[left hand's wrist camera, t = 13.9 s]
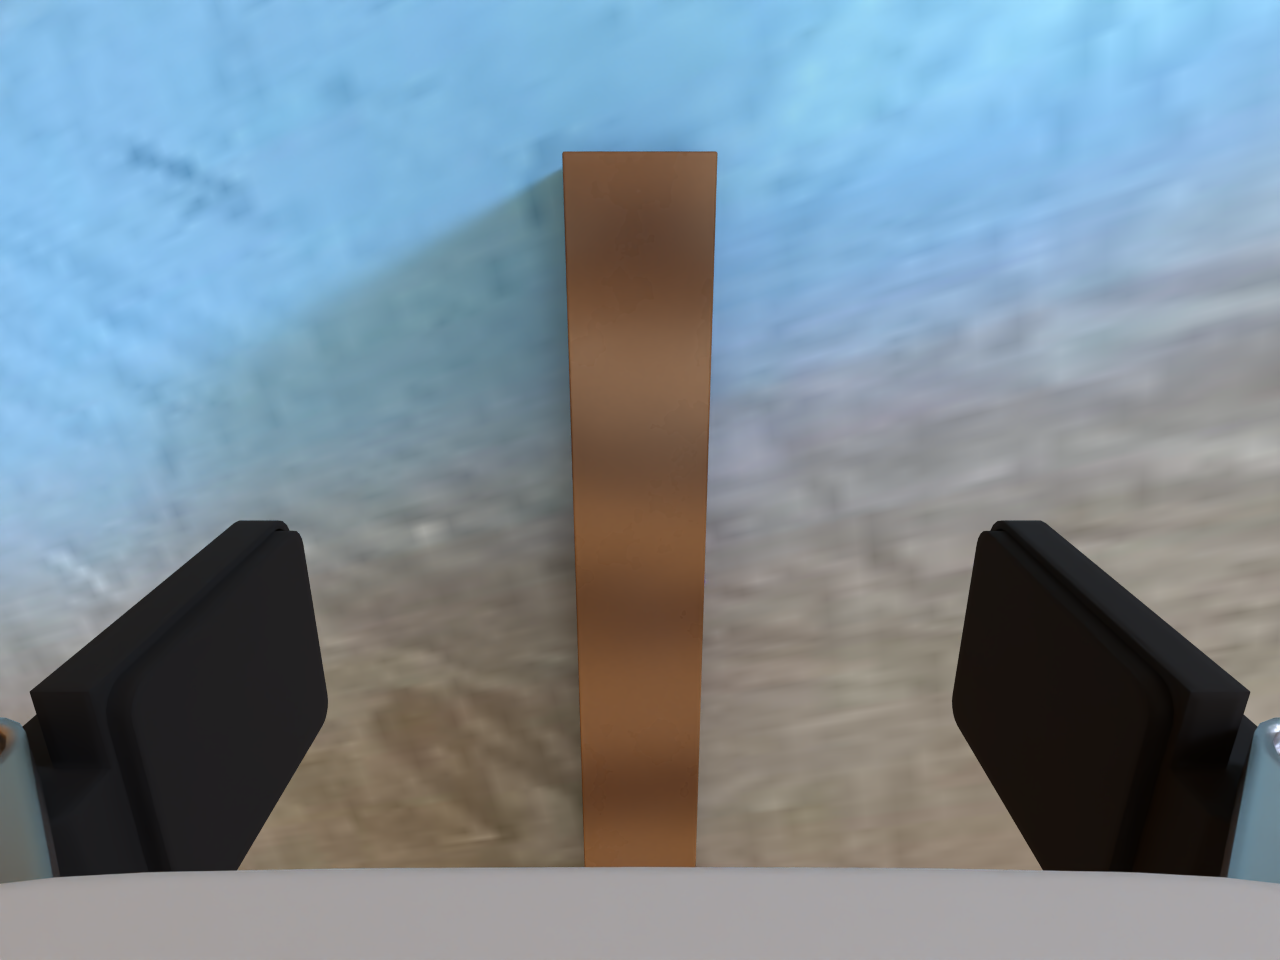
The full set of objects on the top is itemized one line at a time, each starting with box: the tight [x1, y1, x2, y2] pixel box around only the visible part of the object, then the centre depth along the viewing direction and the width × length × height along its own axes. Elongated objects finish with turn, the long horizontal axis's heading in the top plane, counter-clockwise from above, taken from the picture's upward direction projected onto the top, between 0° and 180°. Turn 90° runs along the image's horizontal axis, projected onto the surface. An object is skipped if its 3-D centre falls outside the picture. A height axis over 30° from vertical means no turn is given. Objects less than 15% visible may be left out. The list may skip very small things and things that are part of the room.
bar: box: [562, 152, 717, 867], centre depth 37 cm, size 50×5×6 cm, turn 0°
